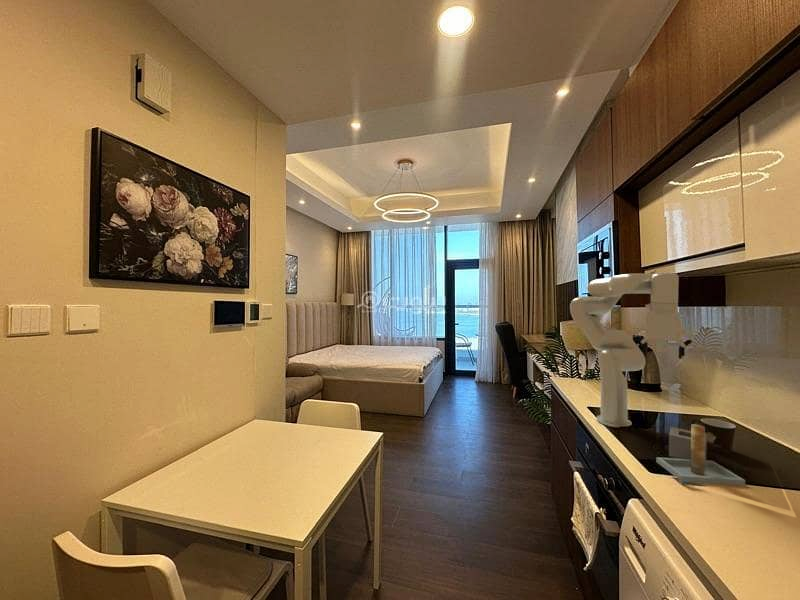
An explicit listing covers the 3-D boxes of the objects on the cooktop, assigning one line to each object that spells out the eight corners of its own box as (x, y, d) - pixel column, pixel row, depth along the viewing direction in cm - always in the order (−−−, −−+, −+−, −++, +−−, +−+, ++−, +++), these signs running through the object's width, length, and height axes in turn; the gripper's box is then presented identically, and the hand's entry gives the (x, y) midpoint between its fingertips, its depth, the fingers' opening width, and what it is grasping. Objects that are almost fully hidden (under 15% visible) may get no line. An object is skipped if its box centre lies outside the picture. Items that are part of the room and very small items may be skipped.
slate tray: (656, 465, 103) (656, 457, 103) (712, 468, 101) (712, 460, 101) (681, 484, 92) (681, 476, 92) (745, 489, 90) (745, 480, 90)
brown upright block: (690, 473, 96) (691, 426, 96) (691, 469, 99) (691, 423, 98) (704, 476, 94) (705, 429, 94) (704, 472, 96) (704, 426, 96)
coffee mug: (742, 459, 107) (743, 429, 107) (712, 456, 108) (712, 427, 108) (716, 443, 118) (716, 416, 118) (688, 441, 120) (689, 414, 120)
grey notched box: (668, 458, 107) (669, 434, 107) (670, 449, 113) (670, 426, 113) (706, 468, 101) (706, 443, 101) (705, 458, 107) (705, 434, 107)
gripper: (632, 307, 117) (630, 354, 118) (696, 309, 105) (695, 361, 106) (635, 306, 123) (634, 351, 123) (697, 308, 111) (695, 358, 111)
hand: (662, 356), depth 115 cm, fingers open, 9 cm apart
